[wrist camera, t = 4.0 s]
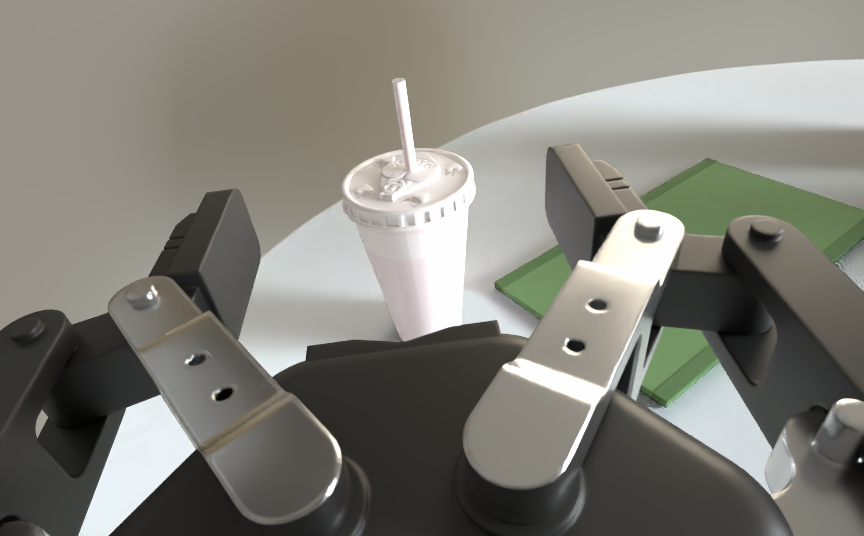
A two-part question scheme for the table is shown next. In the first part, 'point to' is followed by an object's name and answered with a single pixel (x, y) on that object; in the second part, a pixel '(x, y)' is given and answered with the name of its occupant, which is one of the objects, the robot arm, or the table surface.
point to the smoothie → (414, 227)
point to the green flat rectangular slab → (702, 215)
